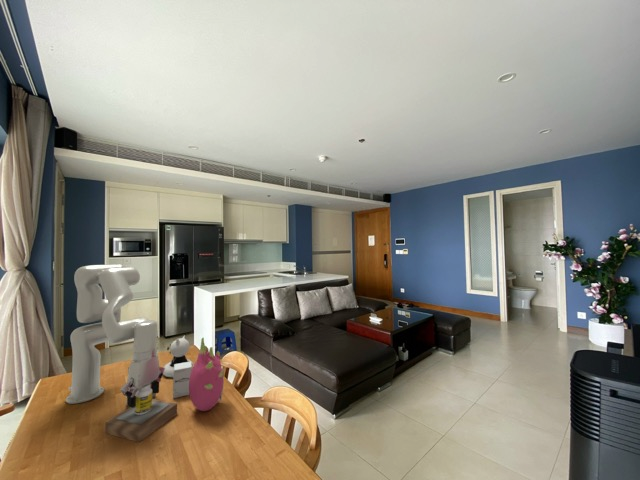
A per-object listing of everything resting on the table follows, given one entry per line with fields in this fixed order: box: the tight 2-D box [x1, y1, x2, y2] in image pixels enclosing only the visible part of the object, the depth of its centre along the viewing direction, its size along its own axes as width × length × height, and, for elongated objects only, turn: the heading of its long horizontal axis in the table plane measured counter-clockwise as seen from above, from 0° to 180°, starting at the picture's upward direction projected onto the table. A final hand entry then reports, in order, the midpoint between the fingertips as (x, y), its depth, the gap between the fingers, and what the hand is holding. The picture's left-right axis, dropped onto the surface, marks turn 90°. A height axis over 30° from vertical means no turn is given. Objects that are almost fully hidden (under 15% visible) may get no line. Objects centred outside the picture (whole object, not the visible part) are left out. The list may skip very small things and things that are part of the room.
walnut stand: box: [104, 398, 178, 443], centre depth 98 cm, size 16×16×4 cm
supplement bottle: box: [135, 383, 153, 415], centre depth 99 cm, size 5×5×10 cm
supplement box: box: [172, 360, 193, 399], centre depth 119 cm, size 7×7×13 cm
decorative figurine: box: [163, 335, 194, 378], centre depth 139 cm, size 15×15×20 cm
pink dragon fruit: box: [189, 337, 225, 412], centre depth 108 cm, size 18×14×30 cm
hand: (143, 399), depth 98 cm, fingers open, 9 cm apart
